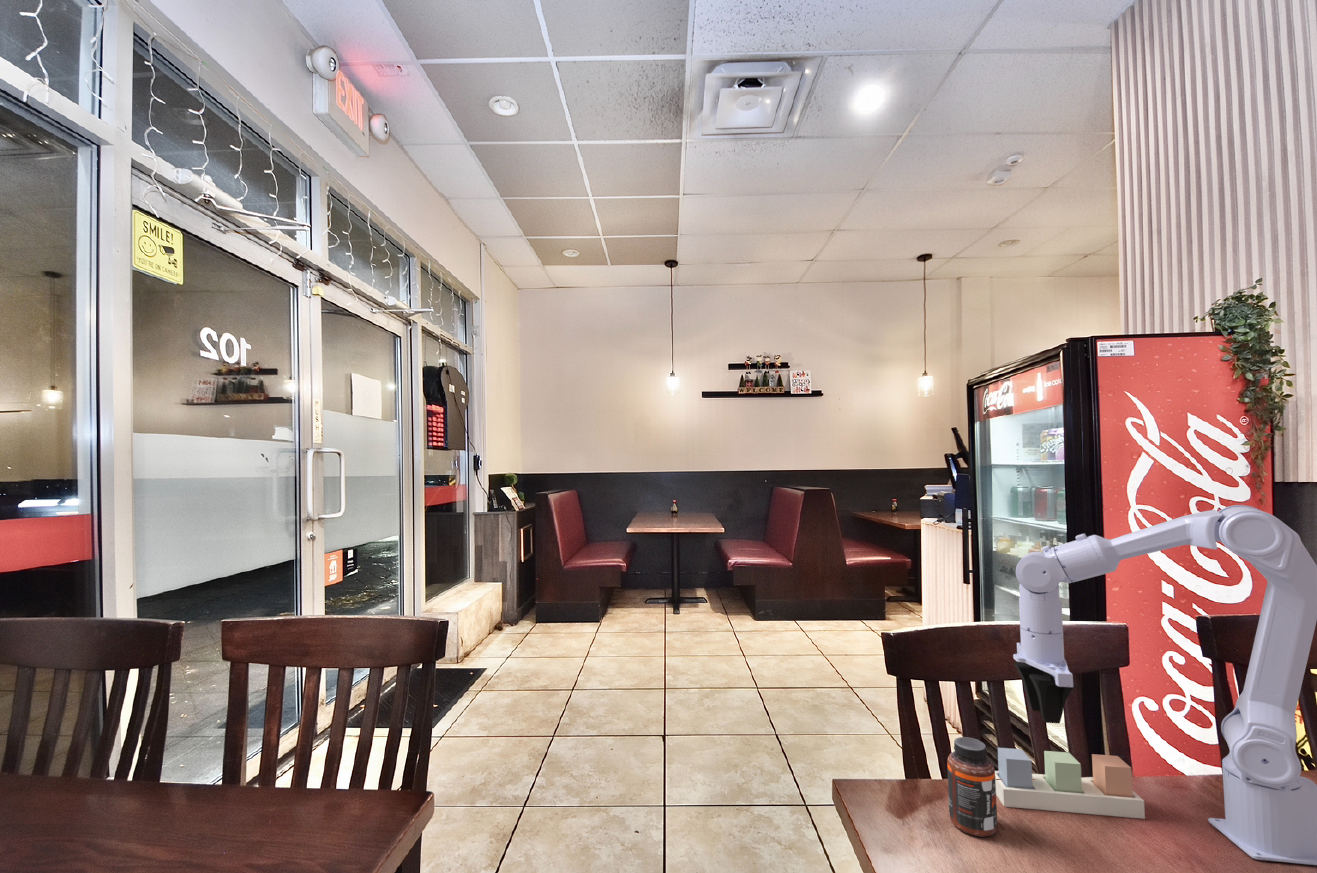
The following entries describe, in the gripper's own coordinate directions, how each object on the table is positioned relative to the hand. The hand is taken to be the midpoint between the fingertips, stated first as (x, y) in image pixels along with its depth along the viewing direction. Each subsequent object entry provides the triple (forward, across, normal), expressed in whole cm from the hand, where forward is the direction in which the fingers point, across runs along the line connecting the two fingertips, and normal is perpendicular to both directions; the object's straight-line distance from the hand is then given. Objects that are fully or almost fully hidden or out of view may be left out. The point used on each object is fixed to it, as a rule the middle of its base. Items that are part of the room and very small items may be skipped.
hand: (1045, 716), depth 91 cm
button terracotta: (+8, +5, +7) cm, 12 cm away
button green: (+8, +5, 0) cm, 10 cm away
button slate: (+8, +5, -6) cm, 12 cm away
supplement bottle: (+11, +13, -15) cm, 23 cm away
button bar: (+10, +5, 0) cm, 12 cm away
